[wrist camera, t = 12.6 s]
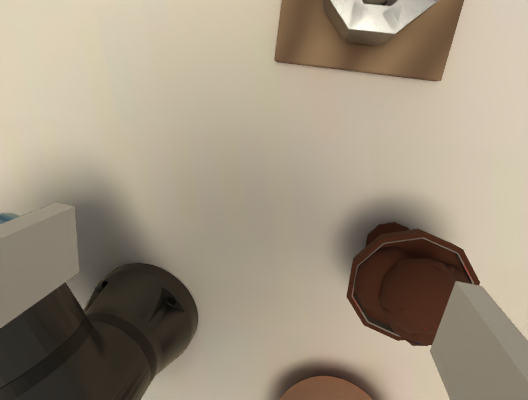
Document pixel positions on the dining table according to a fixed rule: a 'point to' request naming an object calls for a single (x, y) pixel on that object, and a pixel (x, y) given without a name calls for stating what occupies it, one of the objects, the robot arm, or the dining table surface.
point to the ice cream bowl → (406, 282)
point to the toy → (325, 390)
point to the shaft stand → (362, 55)
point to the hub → (373, 19)
